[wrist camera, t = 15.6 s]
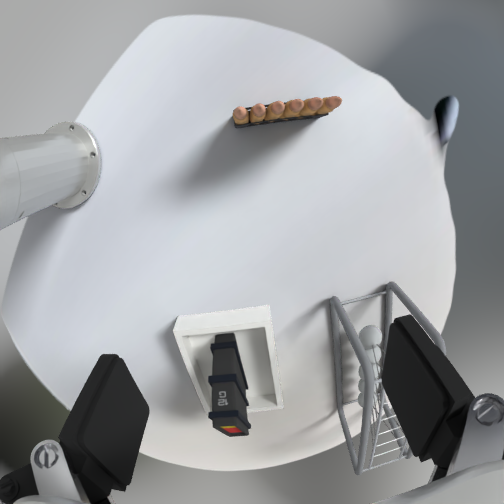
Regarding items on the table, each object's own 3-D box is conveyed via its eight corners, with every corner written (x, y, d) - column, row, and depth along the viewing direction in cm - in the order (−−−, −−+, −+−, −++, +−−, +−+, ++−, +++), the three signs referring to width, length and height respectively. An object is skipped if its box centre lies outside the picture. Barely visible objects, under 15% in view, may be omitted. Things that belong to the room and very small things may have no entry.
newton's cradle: (383, 396, 53) (410, 461, 36) (336, 410, 54) (356, 479, 37) (390, 275, 42) (450, 344, 26) (327, 291, 43) (366, 374, 26)
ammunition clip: (235, 128, 34) (230, 122, 23) (233, 114, 34) (226, 102, 22) (319, 117, 34) (351, 109, 23) (317, 103, 33) (348, 89, 22)
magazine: (232, 320, 41) (239, 424, 31) (245, 355, 51) (253, 436, 40) (206, 323, 41) (208, 426, 31) (225, 358, 51) (229, 438, 41)
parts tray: (208, 399, 51) (206, 415, 47) (178, 315, 44) (172, 331, 40) (281, 392, 51) (283, 408, 47) (269, 304, 43) (271, 319, 40)
